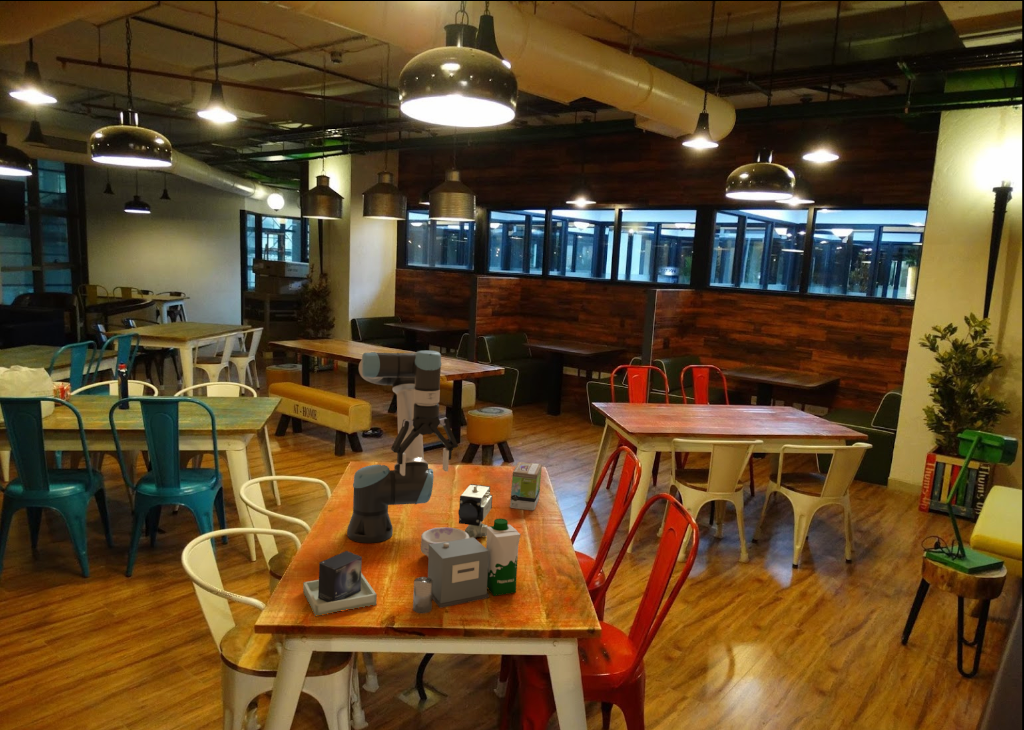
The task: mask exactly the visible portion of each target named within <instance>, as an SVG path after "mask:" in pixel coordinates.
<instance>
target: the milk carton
mask: <svg viewBox="0 0 1024 730" xmlns="http://www.w3.org/2000/svg"><path fill="white" fill-rule="evenodd" d="M508 523H509V522H508V520H507V519H505V518H496V519H494V520H493V525H490V526H488V527H487V536H486V547H485V548H486V549H487V550H489V557H488V577H487V590H488V591H490V594H491V595H493V597H495V596H502V595H509V594H515V593H517V577H518V576H517V574H518V559H519V558H518V557H519V544H520V539H521V533H519V532H518V530H517V529H516V528H515V527H513V526H512V525H511V524H508Z"/></svg>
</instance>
